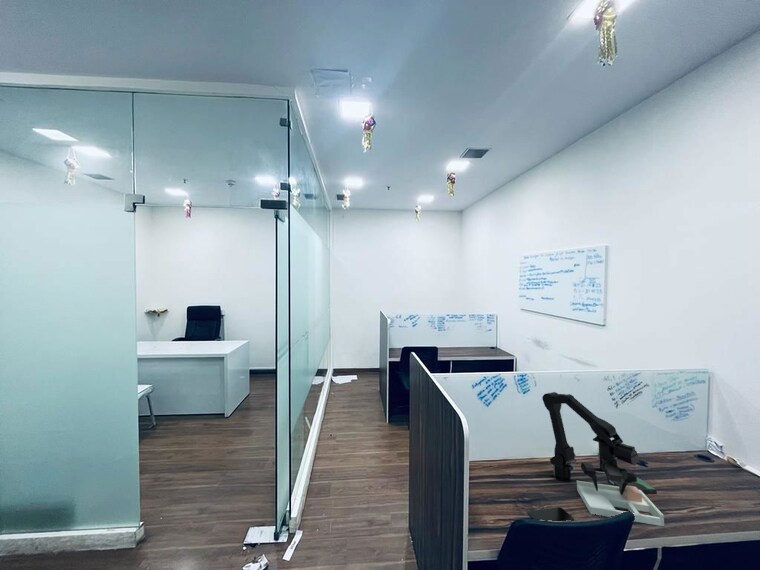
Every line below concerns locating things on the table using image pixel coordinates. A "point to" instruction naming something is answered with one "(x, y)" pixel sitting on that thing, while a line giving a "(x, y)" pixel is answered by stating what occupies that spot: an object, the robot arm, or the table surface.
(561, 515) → the smartphone
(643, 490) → the disk drive
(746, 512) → the table surface
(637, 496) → the terracotta block
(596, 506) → the box
